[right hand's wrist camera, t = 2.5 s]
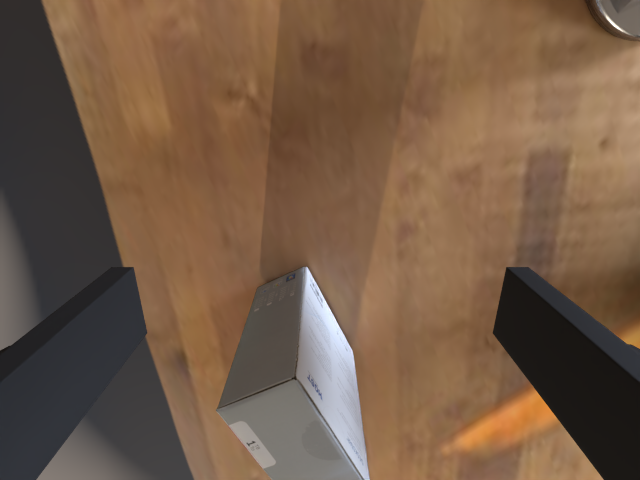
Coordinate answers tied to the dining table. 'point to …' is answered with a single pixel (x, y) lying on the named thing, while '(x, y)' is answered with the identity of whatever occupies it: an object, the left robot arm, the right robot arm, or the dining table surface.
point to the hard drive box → (296, 387)
